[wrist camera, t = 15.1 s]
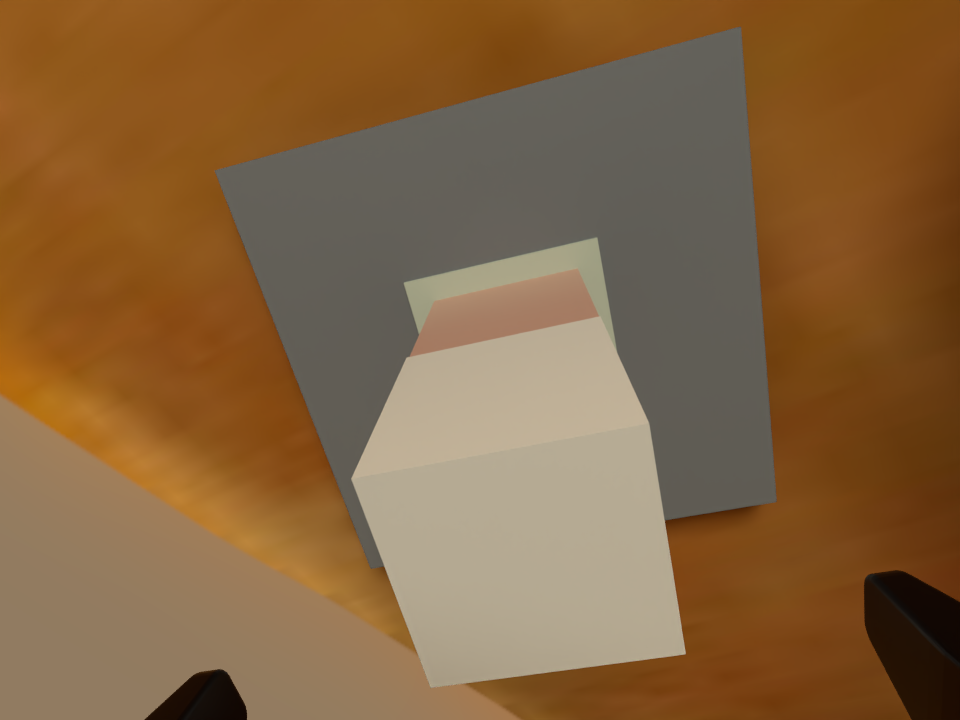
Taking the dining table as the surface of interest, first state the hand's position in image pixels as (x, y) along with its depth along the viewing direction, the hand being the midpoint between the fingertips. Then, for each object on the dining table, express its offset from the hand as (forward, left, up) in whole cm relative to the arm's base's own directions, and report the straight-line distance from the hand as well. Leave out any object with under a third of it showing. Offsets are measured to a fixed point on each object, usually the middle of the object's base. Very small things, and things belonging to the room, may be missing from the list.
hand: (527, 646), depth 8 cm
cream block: (0, 0, -6) cm, 6 cm away
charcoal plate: (0, 0, -13) cm, 13 cm away
